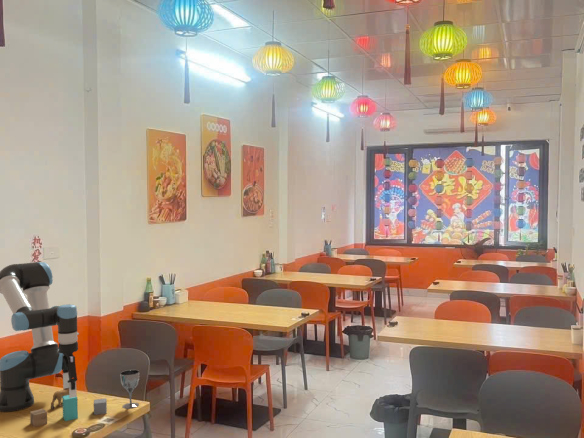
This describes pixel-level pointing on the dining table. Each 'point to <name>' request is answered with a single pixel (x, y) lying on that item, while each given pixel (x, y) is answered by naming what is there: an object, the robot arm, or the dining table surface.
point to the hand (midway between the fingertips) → (69, 392)
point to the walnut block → (38, 417)
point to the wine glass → (130, 385)
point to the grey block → (100, 406)
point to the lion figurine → (59, 396)
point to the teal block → (70, 408)
